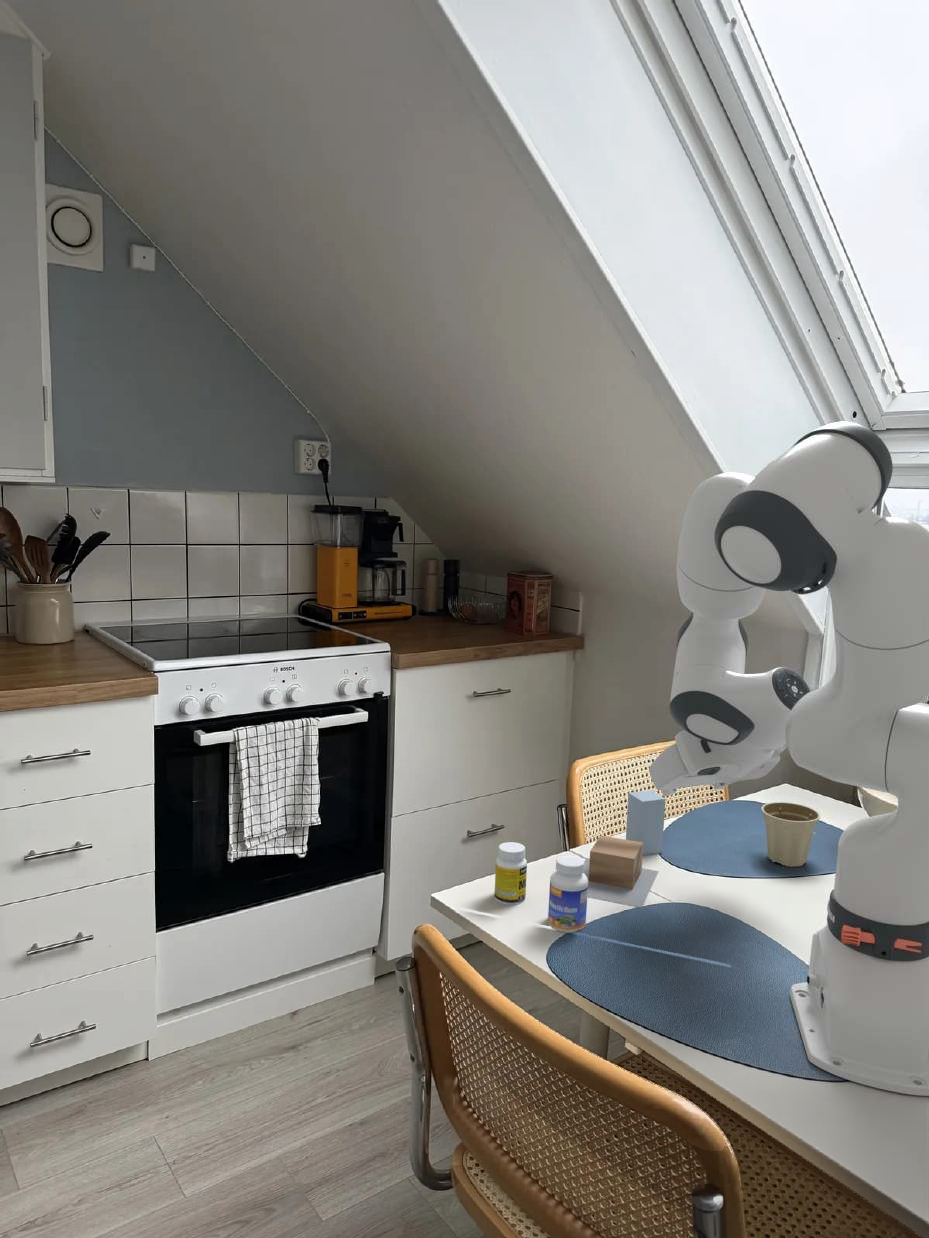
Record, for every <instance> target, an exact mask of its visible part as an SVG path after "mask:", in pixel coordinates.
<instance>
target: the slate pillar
mask: <svg viewBox="0 0 929 1238" xmlns="http://www.w3.org/2000/svg"><path fill="white" fill-rule="evenodd" d="M626 811H627V812H626V829H625V830H626V831H625V840H631V841H636V842H642V843H643V855H642V856H649V855H655V854H661V853H663V842H664V828H665V813H666V798H665V797H664V796H661V794H659V793H657V792H655V791H653V790H651V789H649V790H642V791H641V790H640V791H631V792H628V795H627V810H626Z"/></svg>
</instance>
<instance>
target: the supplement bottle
mask: <svg viewBox="0 0 929 1238" xmlns="http://www.w3.org/2000/svg"><path fill="white" fill-rule="evenodd" d="M497 854H498V856H497V858H496V859H495V875H494V877H495V878H494V896H493V898H494V899H495V901H496V902H498V903H500V904H503V905H507V906H509V905H519V904H522V903H523V902H525V900H526V895H527V894H526V893H527V875H528V874H527V873H528V872H527V869H528V861H527V859H526V846H524V844H522V843H519V842H515V841H514V842H513V841H510V842H509V841H506V842H503V843H500V844H499V846H498V851H497Z"/></svg>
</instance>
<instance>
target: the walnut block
mask: <svg viewBox="0 0 929 1238" xmlns="http://www.w3.org/2000/svg"><path fill="white" fill-rule="evenodd" d="M643 856H644V855H643V843H642V842H636V841H631V840H626V838H625V839H624V838H618V837H612V836H606V835H599V837H598V839H597V840H596V842H595V843H594V844H593V846H592V848H591V849H590V850H589V859H590V863H589V881H591V882H596V883H601V884H607V885H612V886H617V887H622V888H628V889H633V888H634V886H635V884H636V882H637V880H638V878H639V876H640V874H641V872H642V868H643V867H642V866H643Z"/></svg>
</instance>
